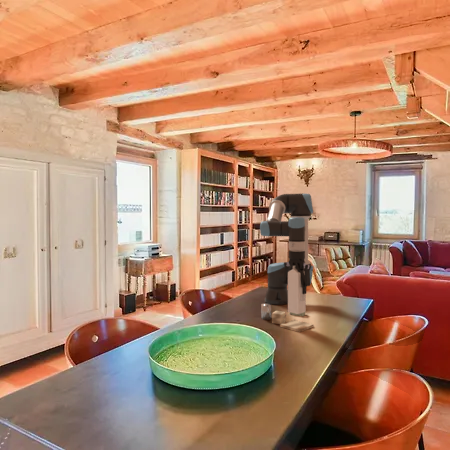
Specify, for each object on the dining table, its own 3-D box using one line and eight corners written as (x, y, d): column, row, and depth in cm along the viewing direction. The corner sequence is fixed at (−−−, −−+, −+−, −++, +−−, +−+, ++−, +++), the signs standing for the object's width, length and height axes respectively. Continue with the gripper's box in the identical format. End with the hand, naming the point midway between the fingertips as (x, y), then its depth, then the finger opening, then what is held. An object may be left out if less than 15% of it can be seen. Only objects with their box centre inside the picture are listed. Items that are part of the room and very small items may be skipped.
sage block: (289, 314, 196) (289, 307, 196) (292, 312, 200) (292, 305, 200) (302, 316, 193) (302, 309, 192) (305, 314, 196) (305, 307, 196)
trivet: (280, 326, 175) (280, 324, 175) (294, 321, 183) (294, 319, 183) (299, 332, 167) (299, 329, 167) (313, 326, 175) (313, 324, 175)
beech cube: (271, 323, 182) (271, 312, 182) (276, 320, 186) (276, 310, 186) (281, 324, 179) (281, 314, 179) (285, 322, 183) (285, 312, 183)
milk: (305, 312, 175) (306, 265, 174) (298, 314, 170) (298, 266, 170) (295, 309, 179) (295, 263, 178) (287, 311, 175) (287, 265, 174)
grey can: (259, 318, 190) (259, 304, 190) (265, 316, 193) (265, 302, 193) (266, 320, 186) (266, 306, 186) (273, 318, 190) (273, 304, 189)
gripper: (275, 249, 178) (276, 297, 179) (309, 252, 164) (309, 304, 165) (285, 248, 183) (285, 295, 184) (318, 251, 169) (318, 301, 170)
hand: (296, 299), depth 175 cm, fingers closed on milk, 6 cm apart
